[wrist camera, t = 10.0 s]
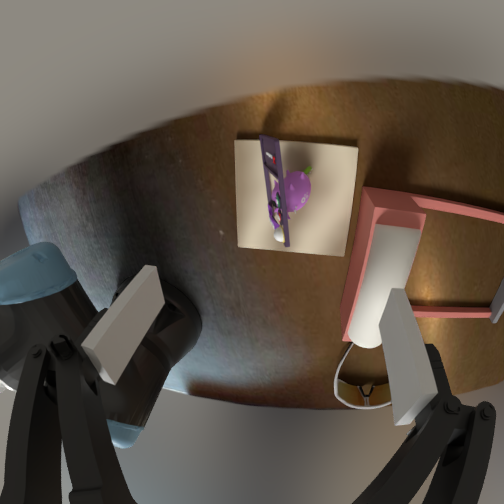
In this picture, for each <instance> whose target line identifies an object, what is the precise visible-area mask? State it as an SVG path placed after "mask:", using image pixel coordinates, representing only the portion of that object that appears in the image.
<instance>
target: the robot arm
mask: <svg viewBox="0 0 504 504" xmlns="http://www.w3.org/2000/svg"><path fill="white" fill-rule="evenodd" d="M378 326H379V330H380V335H381V340H382V345H383V350H384V355H385V360H386V366H387V372H388V378H389V385H390V391H391V399H392V407H393V415H394V424H395V425H405V424H410V423H411V422H412V421H413V420H414V419H415V422H416V426H414V427H413V428H412V429H411V430H410V431H409V432H408V433H407V435H408V437H407V438H406V439H405V441H404V442H403V443H402V445H401V447H400V448H399V449H398V450H397V452H396V453H395V454H394V456H393V457H392V458H391V460H390V461H389V462H388V463H387V465H386V466H385V467H384V469H383V470H382V471H381V472H380V473H379V475H378V476H377V477H376V478H375V479H374V480H373V481H372V483H371V484H370V485H369V486H368V487H367V488H366V489H365V490H364V491H363V492H362V494H361V495H360V496H359V497H358V498H357V499H356V500H355V501H354V502H353V503H352V504H408V503H409V502H410V501H411V500H412V498H413V497H414V496H415V494H416V493H417V491H418V490H419V489H420V487H421V486H422V484H423V483H424V481H425V480H426V478H427V477H428V475H429V474H430V472H431V471H432V469H433V467H434V466H435V464H436V462H437V461H438V459H439V457H440V459H439V462H438V465H437V468H436V471H435V473H434V476H433V479H432V481H431V484H430V486H429V489H428V492H427V494H426V497H425V498H424V501H423V503H422V504H477V503H478V499H479V496H480V493H481V490H482V487H483V483H484V479H485V476H486V472H487V468H488V463H489V459H490V454H491V448H492V443H493V436H494V428H495V420H496V411H495V408H494V406H493V405H492V404H491V403H489V402H486V401H485V402H484V401H483V402H481V403H480V404H478V406H477V407H472V406H466V405H462V404H461V402H460V400H459V399H458V398H457V397H456V396H453V395H452V393H451V390H450V386H449V383H448V379H447V376H446V373H445V369H444V366H443V363H442V362H441V357H440V354H439V351H438V350H437V349H436V347H435V346H434V345H433V344H424V342H423V339H422V336H421V333H420V330H419V327H418V324H417V321H416V318H415V316H414V313H413V310H412V308H411V305H410V302H409V300H408V297H407V295H406V292H405V290H404V289H401V288H391V291H390V294H389V297H388V300H387V303H386V306H385V309H384V311H383V314H382V317H381V319H380V322H379V325H378ZM201 330H202V324H201V319H200V316H199V314H198V312H197V310H196V308H195V307H194V306H193V304H192V303H191V302H190V300H189V299H188V298H187V297H186V296H185V295H184V294H183V293H181V292H180V291H179V290H178V289H176V288H175V287H173V286H172V285H170V284H168V283H167V282H165V281H163V280H160V279H159V276H158V272H157V267H156V266H150V265H145V266H144V267H143V268H142V269H141V270H140V272H139V273H138V274H137V275H136V276H132V277H129V278H128V279H126V280H125V281H124V282H123V283H122V284H121V285H120V286H119V287H118V289H117V290H116V292H115V293H114V296H113V299H112V303H111V305H110V308H109V309H107V308H104V309H103V310H101V311H100V312H98V311H97V310H96V308H95V306H94V305H93V303H92V302H91V300H90V299H89V297H88V296H87V294H86V292H85V291H84V289H83V287H82V286H81V284H80V282H79V281H78V279H77V275H76V273H75V271H74V270H72V269H71V268H70V266H69V264H68V263H67V261H66V259H65V258H64V256H63V254H62V253H61V251H60V249H59V248H58V247H57V246H56V245H54V244H53V243H50V242H40V243H37V244H34V245H31V246H29V247H26V248H24V249H22V250H20V251H18V252H16V253H14V254H12V255H10V256H9V257H7V258H5V259H3V260H1V261H0V393H2V392H3V391H4V390H5V389H7V388H8V389H10V390H12V391H14V392H16V396H15V401H14V405H13V410H12V415H11V420H10V426H9V433H8V440H7V449H6V460H5V477H4V487H3V490H2V493H1V496H0V504H62V491H61V444H62V441H63V447H64V452H65V457H66V462H67V467H68V471H69V475H70V479H71V483H72V487H73V489H72V491H71V492H70V493H69V501H70V504H137V503H136V502H135V500H134V499H133V498H132V496H131V494H130V491H129V489H128V486H127V484H126V481H125V479H124V476H123V473H122V470H121V467H120V464H119V461H118V459H117V456H116V452H115V449H114V446H116V447H119V448H129V447H131V446H132V445H134V443H135V441H136V440H137V438H138V436H139V434H140V432H141V431H142V430H143V429H144V427H145V424H146V422H147V420H148V418H149V416H150V413H151V411H152V409H153V406H154V404H155V402H156V400H157V398H158V395H159V393H160V391H161V389H162V387H163V385H164V382H165V380H166V378H167V376H168V374H169V372H170V370H171V368H172V367H173V366H174V365H175V364H176V363H178V362H179V361H180V360H181V359H182V358H183V357H184V356H185V355H186V354H187V353H188V352H189V351H190V350H192V349H193V347H194V346H195V344H196V343H197V340H198V338H199V336H200V334H201Z"/></svg>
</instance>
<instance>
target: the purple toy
mask: <svg viewBox="0 0 504 504" xmlns="http://www.w3.org/2000/svg"><path fill="white" fill-rule="evenodd" d="M259 139H260V146H261V153H262V161H263V168H264V176H265V183H266V191H267V199H268V204H267V205H268V211H269V221H270V223H271V225H272V226H273V229H274V230H275V231H274V238H275V239H276V240H277V241H279V242H283V244H284V246H285V248H286V247H290V239H289V227H288V219H290V217H289V215H288V212H295V214H296V211H297V210H299V209H301V208H302V207H303V206H304V205H305V204H306V202H307V201H308V199H309V196H310V193H311V182H310V179H309V178H308V176H307V175H308V172H309V173H311V172H310V170H311V171H312V167H311V166H308V167H307V168H306V169H305V170H303V172H301V171H295V172H292V173H290V172H289V170H287V171H286V177H285V178H284V177H283V168H282V159H281V151H280V142H279V139H277V138H274V137H271V136H268V135H264V134H260V135H259ZM268 171H269V172H270V173H271V174H272V175H273V176H274V177H275V178H276V179H277V180H278V182H279V183H278V182H277V181H276V180H274V183H275V187H274V189H273V191H272V197H271V189H270V181H269V173H268ZM272 204H273V205H272ZM273 206H274V208H276V209H275V210H274V212H276V211H277V215H278V219H279V222H280V225H279V224H278V223H277V221H276V219H275V218H274V214H273ZM281 211H282V212H281ZM282 225H283V228H282Z"/></svg>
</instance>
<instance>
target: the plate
mask: <svg viewBox="0 0 504 504" xmlns="http://www.w3.org/2000/svg"><path fill="white" fill-rule="evenodd" d="M279 142H280V151H281V159H282V168H283V177H284V178H285V177H286V171H287V170H289V172H290V173H292V172H295V171H301V172H303V170H305V169H306V168H307V167H308V166H311V167H312V171H311V170H310V172H311V173H309V172H308V175H307V176H308V178H309V179H310V182H311V193H310V196H309V199H308V201H307V202H306V204H305V205H304V206H303V207H302V208H301V209H299V210H297V211H296V214H295V212H288V215H289V217H290V219H288V227H289V239H290V247H286V248H285V246H284V244H283V242H279V241H277V240H276V239H275V238H274V231H275V230H274V229H273V226H272V225H271V223H270V221H269V211H268V205H267V204H268V199H267V191H266V183H265V176H264V168H263V161H262V153H261V146H260V140H249V139H236V140H235V175H236V206H237V233H238V247H244V248H255V249H266V250H278V251H289V252H300V253H311V254H321V255H332V256H343V257H344V253H345V248H346V242H347V236H348V230H349V223H350V217H351V210H352V202H353V194H354V186H355V177H356V168H357V157H358V147H353V146H345V145H336V144H326V143H315V142H301V141H284V140H279ZM268 173H269V181H270V189H271V197H272V191H273V189H274V187H275V183H274V180H276V181H277V182H278V180H277V179H276V178H275V177H274V176H273V175H272V174H271V173H270V172H269V171H268ZM278 183H279V182H278ZM272 205H273V204H272ZM275 209H276V208H274V206H273V214H274V218H275V219H276V221H277V223H278V224H279V225H280V222H279V219H278V215H277V211H276V212H274V210H275ZM281 212H282V211H281ZM282 228H283V225H282Z"/></svg>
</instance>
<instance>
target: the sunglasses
mask: <svg viewBox="0 0 504 504" xmlns="http://www.w3.org/2000/svg"><path fill="white" fill-rule="evenodd" d="M353 344H354V342H351V344H350V345H349V347H348V348H347V350H346V352H345V353H344V355H343V357H342V359H341V361H340V363H339V365H338V368H337V372H336V375H335V379H334V393H335V396H336V397H337V399H338V400H340V401H341V402H343V403H344V404H345V405H347V406H350V407H353V408H357V409H373V408H379V407H383V406H386V405H388V404H391V403H392V399H391V391H390V385H389V383H387V384H383V385H379V386H372V388H371V390H370V393H369V395H364V392H363V390H362V387H361V386H360V387H359V386H353V385H349V384H347V383H345V382H343V381H342V380H340V379H338V380H337V378H338V373H339V369H340V367H341V365H342V363H343V361H344V359H345V357H346V355H347V354H348V352H349V350H350V349H351V347H352V346H353Z"/></svg>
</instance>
